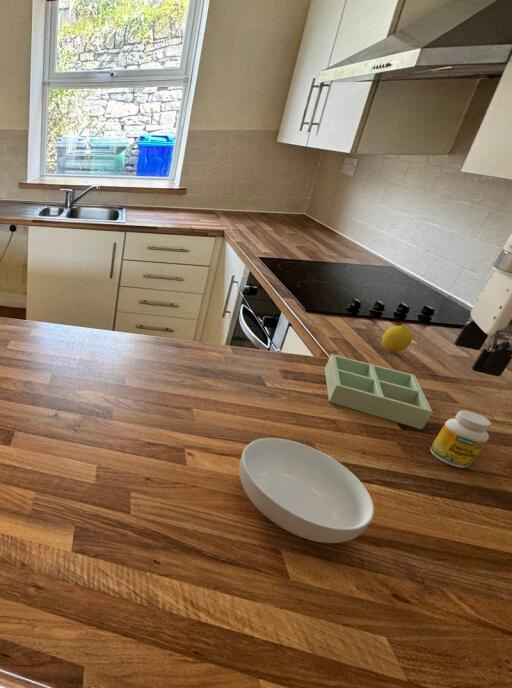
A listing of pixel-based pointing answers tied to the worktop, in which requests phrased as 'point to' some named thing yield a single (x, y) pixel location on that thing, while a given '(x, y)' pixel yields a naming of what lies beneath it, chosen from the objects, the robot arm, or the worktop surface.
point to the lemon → (397, 338)
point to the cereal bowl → (305, 490)
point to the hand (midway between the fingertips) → (475, 359)
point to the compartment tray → (377, 391)
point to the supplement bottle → (461, 439)
